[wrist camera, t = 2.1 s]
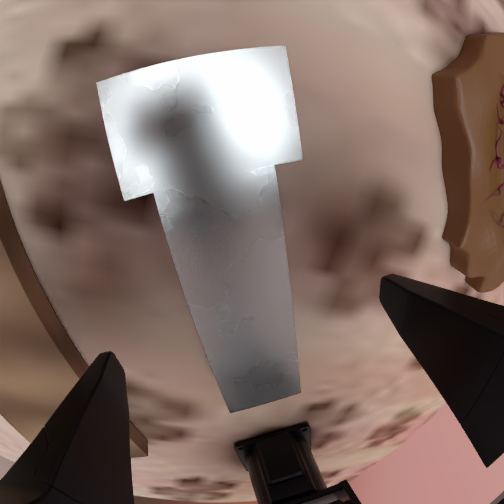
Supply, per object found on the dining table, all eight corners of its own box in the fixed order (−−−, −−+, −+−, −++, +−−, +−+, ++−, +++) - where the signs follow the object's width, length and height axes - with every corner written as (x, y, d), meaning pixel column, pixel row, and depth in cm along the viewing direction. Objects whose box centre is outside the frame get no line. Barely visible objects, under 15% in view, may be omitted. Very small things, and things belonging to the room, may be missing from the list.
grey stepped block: (299, 352, 18) (317, 386, 15) (205, 378, 17) (212, 417, 14) (261, 60, 10) (285, 45, 8) (116, 90, 10) (96, 82, 7)
